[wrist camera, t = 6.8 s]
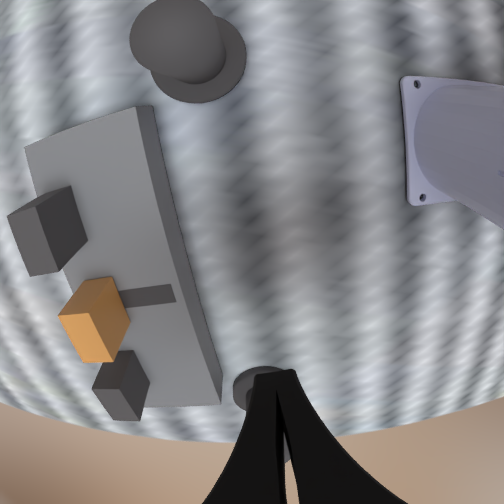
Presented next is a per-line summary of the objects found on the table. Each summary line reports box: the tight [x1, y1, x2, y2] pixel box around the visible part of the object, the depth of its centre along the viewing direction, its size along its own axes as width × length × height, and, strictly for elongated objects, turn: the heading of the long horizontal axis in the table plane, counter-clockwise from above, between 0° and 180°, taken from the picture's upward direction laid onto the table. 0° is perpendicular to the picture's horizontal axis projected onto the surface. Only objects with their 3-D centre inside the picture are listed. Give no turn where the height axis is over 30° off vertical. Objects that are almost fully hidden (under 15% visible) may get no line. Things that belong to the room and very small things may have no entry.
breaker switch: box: [58, 277, 131, 363], centre depth 16 cm, size 2×3×4 cm, turn 9°
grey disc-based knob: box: [130, 0, 246, 103], centre depth 12 cm, size 5×5×7 cm
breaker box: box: [7, 106, 223, 421], centre depth 18 cm, size 7×20×6 cm, turn 9°
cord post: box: [233, 366, 290, 463], centre depth 22 cm, size 5×5×7 cm
